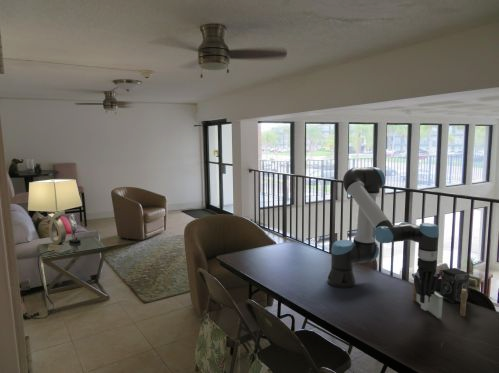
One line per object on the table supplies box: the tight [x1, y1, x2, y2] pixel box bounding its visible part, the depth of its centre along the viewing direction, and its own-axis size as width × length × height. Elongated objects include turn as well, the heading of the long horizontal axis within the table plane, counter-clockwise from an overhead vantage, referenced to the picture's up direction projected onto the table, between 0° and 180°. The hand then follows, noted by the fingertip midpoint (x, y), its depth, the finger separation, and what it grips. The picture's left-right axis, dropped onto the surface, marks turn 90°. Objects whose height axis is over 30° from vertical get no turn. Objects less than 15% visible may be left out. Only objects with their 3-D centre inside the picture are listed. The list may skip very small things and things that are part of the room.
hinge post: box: [412, 276, 420, 303], centre depth 172 cm, size 3×3×13 cm
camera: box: [440, 267, 471, 304], centre depth 172 cm, size 10×10×15 cm
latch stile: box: [459, 289, 468, 317], centre depth 158 cm, size 2×2×12 cm
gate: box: [416, 291, 444, 319], centre depth 162 cm, size 17×2×10 cm, turn 5°
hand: (424, 309), depth 157 cm, fingers closed
